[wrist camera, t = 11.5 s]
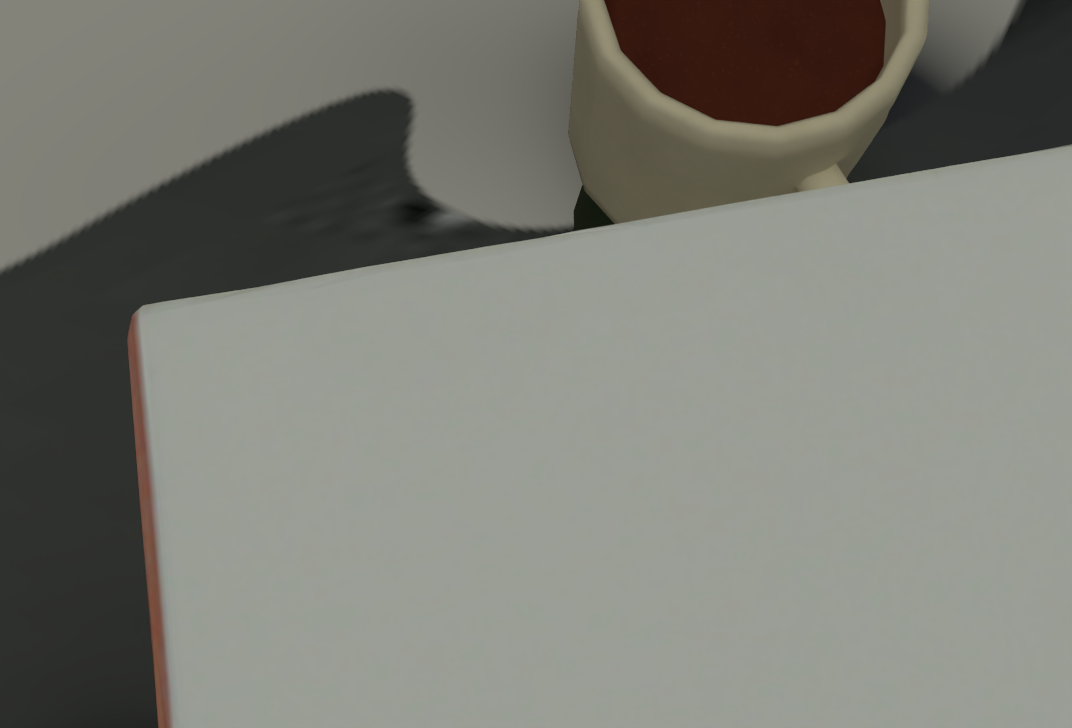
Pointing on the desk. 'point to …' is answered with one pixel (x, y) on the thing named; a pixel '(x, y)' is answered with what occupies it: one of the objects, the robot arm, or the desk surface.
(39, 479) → the desk surface
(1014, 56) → the desk surface
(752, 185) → the character mug
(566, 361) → the small box
